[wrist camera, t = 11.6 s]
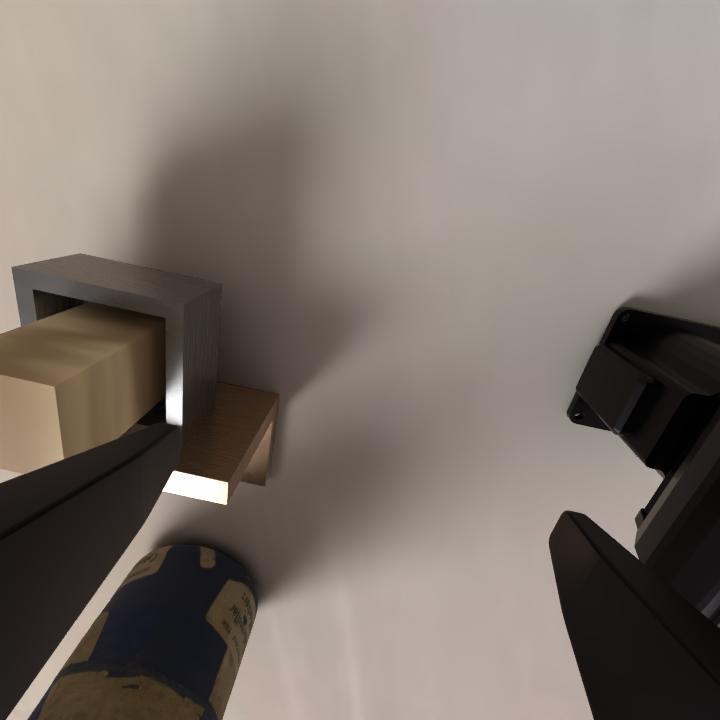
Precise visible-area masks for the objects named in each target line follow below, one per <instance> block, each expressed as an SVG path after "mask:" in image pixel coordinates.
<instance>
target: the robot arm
mask: <svg viewBox="0 0 720 720" xmlns="http://www.w3.org/2000/svg"><path fill="white" fill-rule="evenodd" d="M627 314H629V318H628V319H627V320H626V321H624V322H622V318H623V317H624V316H625V315H627ZM576 390H577V391H576V393H575V395H574V398H573V400H572V402H571V404H570V406H569V408H568V410H567V416H568V417H569V419H570V420H571V421H572V422H573V423H576V424H580V425H585V426H589V427H594V428H599V429H603V430H608V431H612V432H613V433H614V434H616V435H619V437H620V438H621V439H622V440H623V441H624V442H625V443H626V444H627V445H628V447H629V448H630V449H631V450H632V451H633V452H634V453H635V454H636V455H637V457H638V458H639V459H640V460H641V461H642V462H643V463H644V464H645V465H646V466H647V467H649V468H652V469H655V470H656V471H657V472H658V473H659V474H660V475H661V477H662V478H663V479H664V480H663V481H662V483H661V484H660V486H659V487H658V489H657V491H656V492H655V494H654V495H653V497H652V498H651V500H650V501H649V503H648V504H647V506H646V507H645V509H643V508H642V509H641V510H640V511H639V513H638V514H637V516H636V517H635V522H636V525H637V529H638V531H637V533H636V539H635V546H634V547H635V549H636V552H637V555H638V558H639V560H638V559H637V558H636V557H635V556H634V555H632V554H631V553H630V552H629V551H628V550H627V549H625V548H624V547H623V546H622V545H621V544H619V543H618V542H617V541H616V540H615V539H613V538H612V537H611V536H610V535H609V534H608V533H606V532H605V531H604V530H603V529H602V528H600V527H599V526H598V525H597V524H596V523H595V522H593V521H592V520H591V519H590V518H589V517H587V516H586V515H585V514H582V513H578V512H573V511H564V512H563V513H562V514H561V516H560V518H559V520H558V522H557V523H556V525H555V527H554V529H553V531H552V533H551V535H550V538H549V548H550V553H551V559H552V564H553V569H554V574H555V579H556V584H557V589H558V594H559V599H560V604H561V609H562V613H563V617H564V621H565V624H566V628H567V631H568V634H569V638H570V641H571V645H572V648H573V651H574V655H575V658H576V661H577V665H578V668H579V671H580V675H581V678H582V681H583V685H584V688H585V691H586V695H587V698H588V701H589V705H590V708H591V711H592V715H593V718H594V720H720V327H718V326H713V325H709V324H704V323H699V322H695V321H690V320H686V319H681V318H676V317H672V316H667V315H662V314H658V313H653V312H648V311H644V310H639V309H634V308H630V307H622V308H619V309H618V310H617V311H616V312H615V313H614V314H613V316H612V318H611V320H610V322H609V325H608V327H607V329H606V331H605V333H604V335H603V337H602V339H601V341H600V343H599V345H598V346H596V347H595V348H594V350H593V353H592V355H591V357H590V359H589V361H588V363H587V365H586V367H585V369H584V371H583V374H582V376H581V378H580V380H579V382H578V384H577V386H576ZM577 412H581V414H580V415H578V416H575V414H576V413H577ZM179 458H180V428H179V427H178V426H177V425H173V424H168V423H163V422H161V423H157V424H155V425H152V426H149V427H147V428H144V429H141V430H139V431H136V432H134V433H131V434H128V435H126V436H123V437H120V438H118V439H115V440H113V441H110V442H107V443H105V444H102V445H100V446H97V447H94V448H92V449H89V450H86V451H84V452H81V453H79V454H76V455H73V456H71V457H68V458H65V459H63V460H60V461H58V462H55V463H52V464H50V465H47V466H44V467H42V468H39V469H37V470H34V471H31V472H29V473H26V474H23V475H21V476H18V477H16V478H13V479H10V480H8V481H5V482H2V483H0V720H6V719H7V717H8V716H9V715H10V713H11V712H12V710H13V709H14V707H15V706H16V705H17V703H18V702H19V700H20V699H21V698H22V696H23V695H24V693H25V692H26V690H27V689H28V688H29V686H30V685H31V683H32V682H33V681H34V679H35V678H36V676H37V675H38V673H39V672H40V671H41V669H42V668H43V666H44V665H45V664H46V662H47V661H48V659H49V658H50V656H51V655H52V654H53V652H54V651H55V649H56V648H57V647H58V645H59V644H60V642H61V641H62V639H63V638H64V637H65V635H66V634H67V632H68V631H69V630H70V628H71V627H72V625H73V624H74V622H75V621H76V620H77V618H78V617H79V615H80V614H81V613H82V611H83V610H84V608H85V607H86V605H87V604H88V603H89V601H90V600H91V598H92V597H93V596H94V594H95V593H96V591H97V590H98V588H99V587H100V586H101V584H102V583H103V581H104V580H105V579H106V577H107V576H108V574H109V573H110V571H111V570H112V569H113V567H114V566H115V564H116V563H117V562H118V560H119V559H120V557H121V556H122V554H123V553H124V552H125V550H126V549H127V547H128V546H129V545H130V543H131V542H132V540H133V539H134V537H135V536H136V535H137V533H138V532H139V530H140V529H141V527H142V526H143V524H144V523H145V521H146V519H147V518H148V516H149V514H150V512H151V511H152V509H153V507H154V505H155V504H156V502H157V500H158V498H159V496H160V495H161V493H162V491H163V489H164V487H165V486H166V484H167V482H168V480H169V478H170V477H171V475H172V473H173V471H174V469H175V468H176V466H177V464H178V461H179Z"/></svg>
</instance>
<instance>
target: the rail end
mask: <svg viewBox="0 0 720 720" xmlns="http://www.w3.org/2000/svg"><path fill="white" fill-rule="evenodd" d="M165 396H166V318H164V317H159V316H154V315H150V314H145V313H141V312H136V311H131V310H127V309H122V308H118V307H113V306H108V305H104V304H99V303H94V302H88V303H85V304H83V305H80V306H77V307H74V308H71V309H69V310H66V311H63V312H60V313H58V314H55V315H52V316H49V317H47V318H44V319H41V320H38V321H35V322H33V323H30V324H27V325H24V326H22V327H19V328H16V329H13V330H11V331H8V332H5V333H2V334H0V469H4V470H9V471H13V472H18V473H22V474H26V473H29V472H31V471H34V470H37V469H39V468H42V467H44V466H47V465H50V464H52V463H55V462H58V461H60V460H63V459H65V458H68V457H71V456H73V455H76V454H79V453H81V452H84V451H86V450H89V449H92V448H94V447H97V446H100V445H102V444H105V443H107V442H110V441H113V440H115V439H118V438H119V437H120V436H121V435H122V434H124V433H125V432H126V431H127V430H128V429H129V428H130V427H132V426H133V425H134V424H135V423H136V422H137V421H138V420H139V419H141V418H142V417H143V416H144V415H145V414H146V413H147V412H148V411H150V410H151V409H152V408H153V407H154V406H155V405H156V404H157V403H159V402H160V401H161V400H162V399H163V398H164V397H165Z"/></svg>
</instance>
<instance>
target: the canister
mask: <svg viewBox="0 0 720 720" xmlns="http://www.w3.org/2000/svg"><path fill="white" fill-rule="evenodd" d="M257 605H258V597H257V592H256V589H255V586H254V583H253V581H252V579H251V578H250V576H249V575H248V574H247V572H246V571H245V570H244V569H243V568H242V567H241V566H240V565H238V564H237V563H236V562H235V561H233V560H232V559H230V558H229V557H227V556H225V555H223V554H222V553H220V552H217V551H215V550H212V549H210V548H206V547H202V546H197V545H188V544H175V545H169V546H165V547H162V548H159V549H156V550H154V551H152V552H150V553H149V554H147V555H146V556H144V557H143V558H142V559H141V560H140V561H139V562H138V563H137V564H136V565H135V566H134V568H133V569H132V570H131V571H130V573H129V574H128V575H127V577H126V578H125V580H124V581H123V582H122V584H121V585H120V587H119V588H118V589H117V591H116V592H115V594H114V595H113V597H112V598H111V600H110V601H109V603H108V604H107V605H106V607H105V608H104V609H103V611H102V612H101V614H100V615H99V616H98V617H97V619H96V620H95V621H94V623H93V624H92V626H91V627H90V629H89V630H88V632H87V633H86V634H85V636H84V637H83V638H82V640H81V641H80V643H79V644H78V646H77V647H76V649H75V650H74V651H73V653H72V654H71V656H70V657H69V659H68V660H67V662H66V663H65V665H64V666H63V668H62V669H61V670H60V672H59V673H58V675H57V676H56V678H55V679H54V681H53V682H52V684H51V686H50V687H49V689H48V690H47V692H46V693H45V695H44V696H43V698H42V699H41V701H40V702H39V704H38V705H37V706H36V708H35V709H34V711H33V712H32V714H31V715H30V717H29V718H28V720H222V719H223V716H224V712H225V709H226V706H227V703H228V700H229V697H230V694H231V691H232V688H233V685H234V682H235V679H236V676H237V673H238V670H239V667H240V664H241V660H242V657H243V654H244V651H245V648H246V645H247V642H248V639H249V636H250V633H251V630H252V627H253V624H254V620H255V617H256V613H257Z"/></svg>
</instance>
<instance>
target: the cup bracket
mask: <svg viewBox="0 0 720 720" xmlns="http://www.w3.org/2000/svg"><path fill="white" fill-rule="evenodd" d="M12 273H13V279H14V285H15V291H16V297H17V303H18V309H19V315H20V322H21V327H22V326H24V325H27V324H30V323H33V322H35V321H38V320H41V319H44V318H47V317H49V316H52V315H55V314H58V313H60V312H63V311H66V310H69V309H71V308H74V307H77V306H80V305H83V304H85V303H88V302H94V303H99V304H104V305H108V306H113V307H118V308H122V309H127V310H131V311H136V312H141V313H145V314H150V315H154V316H159V317H164V318H166V396H165V397H164V398H163V399H162V400H161V401H160V402H159V403H157V404H156V405H155V406H154V407H153V408H152V409H151V410H150V411H148V412H147V413H146V414H145V415H144V416H143V417H142V418H141V419H139V420H138V421H137V422H136V423H135V424H134V425H133V426H132V427H130V428H129V429H128V430H127V431H126V432H125V433H124V434H122V435H121V436H120V437H123V436H126V435H128V434H131V433H134V432H136V431H139V430H141V429H144V428H147V427H149V426H152V425H155V424H157V423H161V422H163V423H168V424H173V425H177V426H178V427H179V428H180V458H179V461H178V464H177V466H176V468H175V469H174V471H173V473H172V475H171V477H170V478H169V480H168V482H167V484H166V486H165V487H164V489H163V491H165V492H170V493H175V494H179V495H184V496H188V497H193V498H198V499H202V500H207V501H211V502H216V503H220V504H225V505H227V503H228V501H229V499H230V498H231V496H232V494H233V492H234V490H235V488H236V487H237V485H238V483H239V481H242V482H247V483H252V484H256V485H261V486H265V485H266V482H267V480H268V478H269V471H270V463H271V455H272V447H273V439H274V432H275V424H276V416H277V408H278V400H279V395H277V394H272V393H267V392H263V391H258V390H253V389H249V388H244V387H240V386H235V385H230V384H226V383H221V382H217V368H218V349H219V330H220V311H221V292H222V284H220V283H215V282H211V281H206V280H201V279H197V278H192V277H187V276H183V275H178V274H173V273H169V272H164V271H160V270H155V269H150V268H146V267H141V266H136V265H132V264H127V263H123V262H118V261H113V260H109V259H104V258H99V257H95V256H90V255H86V254H81V253H80V254H75V255H70V256H65V257H60V258H55V259H50V260H45V261H39V262H34V263H29V264H24V265H19V266H14V267H12ZM120 437H119V438H120Z"/></svg>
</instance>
